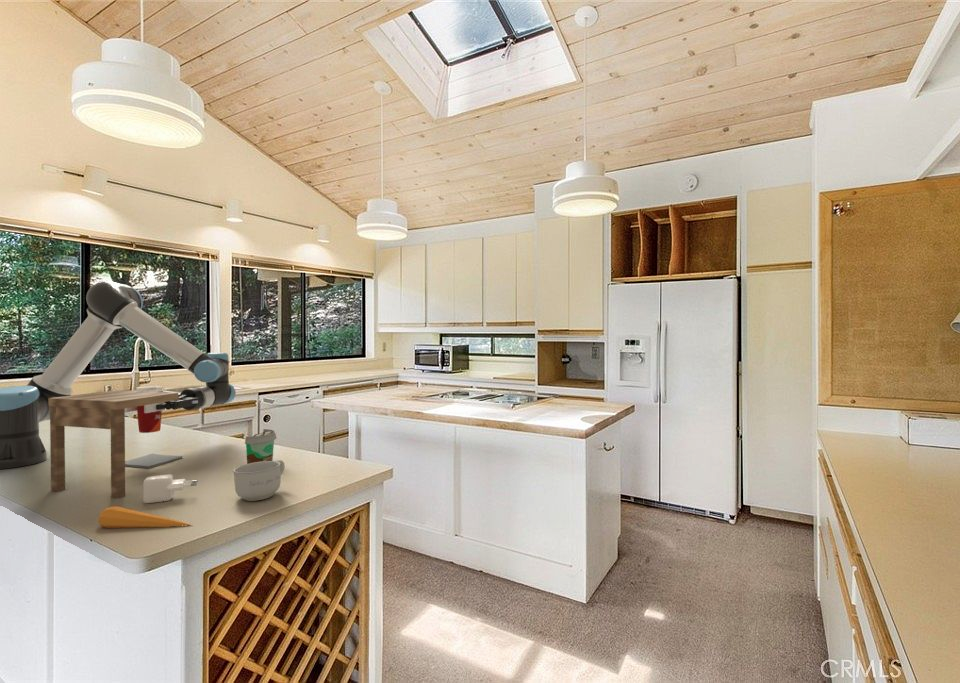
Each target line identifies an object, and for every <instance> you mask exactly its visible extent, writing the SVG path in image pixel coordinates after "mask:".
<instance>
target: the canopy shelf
mask: <svg viewBox="0 0 960 683" xmlns="http://www.w3.org/2000/svg"><path fill="white" fill-rule="evenodd" d="M178 395H179V392H168V391H167V392H166V391H163V392H149V391H136V390H125V389H123V390H122V389H112V390H107V391H105V390H104V391H100V392H99V391H98V392H97V391H96V392H87V393H81V394H74V395H73V394H71V395H70V396H63V397H54V398H48V404H49V406H50V419H49V422H50V423H49V426H50V427H49V428H50V431H49V432H50V435H49V436H50V437H49V438H50V439H49V440H50V445H49V446H50V448H49V449H50V451H49V452H50V491H51V492H59V490H60V491H63V490H62V489H64V490H66V450H65V449H66V443H65V441H66V440H65V438H66V436H65V435H66V434H65V432H66V431H65V429H66V427H70V428H89V429H100V430H102V429H103V430H110V497H111V498H113V499H119V498H122V497H125V496H126V466H125V461H126V434H125V433H126V431H125V430H126V426H125V424H126V423H125V422H126V420H125V416H126V414H125V413H126V412H125V408H130V407H137V406H143V405H149V404H155V403H162V402H168V401H174V400H178Z"/></svg>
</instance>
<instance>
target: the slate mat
mask: <svg viewBox="0 0 960 683" xmlns="http://www.w3.org/2000/svg"><path fill="white" fill-rule="evenodd" d="M181 459H183V456H181V455H169V454H156V453H151V454H148V455H144V456H140V457H136V458H132V459H129V460H125V467H129V466H130V467H133V468H140V467H141V468H143V469H151V468H154V467H158V466H160V465H161V466H162V465H164V464H168V463H171V462H174V461H177V460H181ZM130 467H129V468H130Z"/></svg>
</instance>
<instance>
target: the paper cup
mask: <svg viewBox="0 0 960 683" xmlns="http://www.w3.org/2000/svg"><path fill="white" fill-rule="evenodd" d="M135 391H149V392H165V389H164V388H163V386H162V385H142V386H137V387H136V388H135ZM162 411H163V410H162ZM162 411H156V412H150V413H144V405H143V406H137V410H136V413H137V425H138V432H139V433H140V434H142V433H143V434H146V433H147V434H150V433H156V432H157V433H158V432H160V431H161V427H162V426H161V425H162V415H163V413H162Z"/></svg>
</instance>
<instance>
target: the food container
mask: <svg viewBox="0 0 960 683" xmlns="http://www.w3.org/2000/svg"><path fill="white" fill-rule="evenodd" d="M276 439H277V433H276V432H275V430H273V429H269V428H268V429H267V428H263V430H262V432H260V433H257V434H254V435H253V436H245V439H244V445H245V448H246V451H245V452H246V464H249V463H254V462H261V461H274V460H273V459H274V458H273V456H274V446H275V440H276Z"/></svg>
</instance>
